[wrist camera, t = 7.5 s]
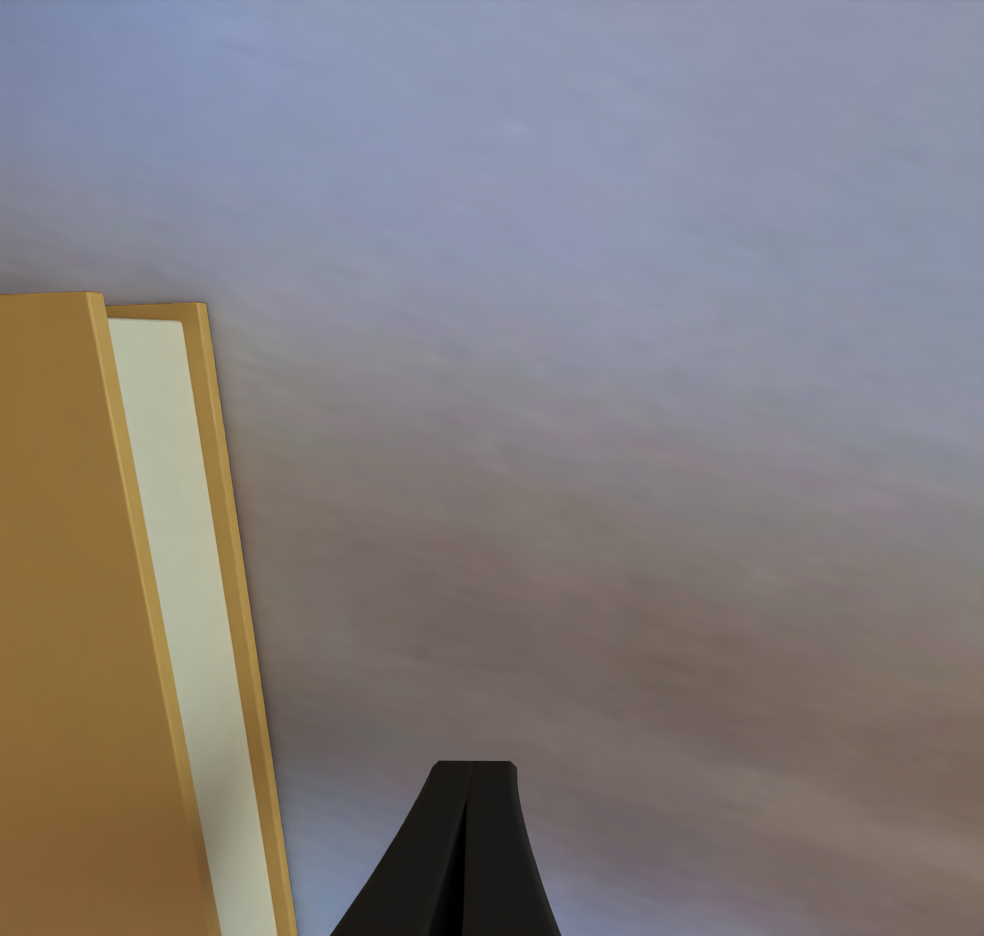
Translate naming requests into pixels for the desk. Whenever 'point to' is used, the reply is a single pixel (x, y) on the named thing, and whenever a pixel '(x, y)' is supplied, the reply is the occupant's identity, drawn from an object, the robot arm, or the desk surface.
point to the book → (126, 636)
